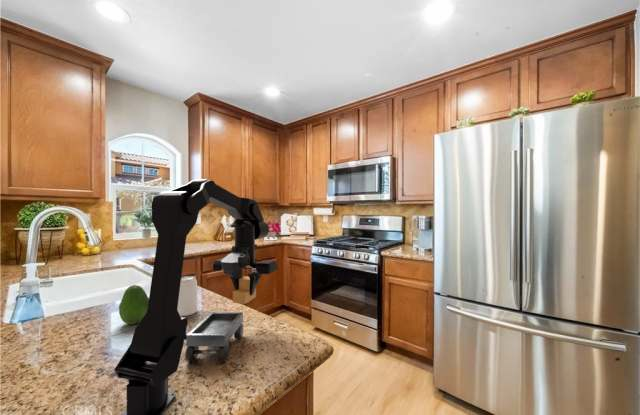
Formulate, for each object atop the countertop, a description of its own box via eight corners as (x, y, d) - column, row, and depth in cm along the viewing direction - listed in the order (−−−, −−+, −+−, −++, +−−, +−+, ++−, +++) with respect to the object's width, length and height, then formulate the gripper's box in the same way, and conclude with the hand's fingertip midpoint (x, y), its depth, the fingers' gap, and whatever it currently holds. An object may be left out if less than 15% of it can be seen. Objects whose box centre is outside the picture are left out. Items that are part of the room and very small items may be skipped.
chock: (244, 295, 80) (244, 276, 80) (255, 296, 79) (255, 277, 79) (232, 302, 74) (232, 281, 74) (245, 303, 73) (245, 282, 73)
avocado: (114, 330, 76) (113, 289, 76) (126, 319, 84) (125, 282, 84) (145, 327, 78) (144, 287, 78) (154, 316, 86) (153, 280, 86)
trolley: (223, 365, 59) (223, 336, 59) (184, 365, 59) (184, 336, 59) (243, 334, 73) (243, 311, 73) (212, 334, 74) (212, 311, 74)
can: (188, 317, 85) (188, 281, 85) (171, 316, 86) (171, 280, 86) (201, 309, 91) (201, 276, 91) (185, 308, 93) (185, 275, 93)
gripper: (199, 244, 72) (199, 300, 72) (259, 246, 67) (259, 307, 67) (224, 239, 82) (224, 288, 82) (278, 241, 77) (278, 293, 77)
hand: (244, 294), depth 77 cm, fingers closed on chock, 4 cm apart
